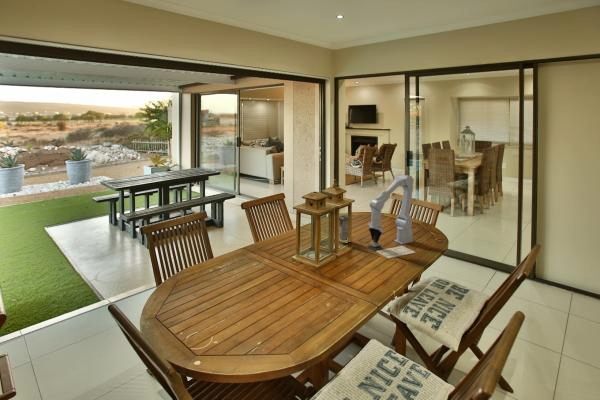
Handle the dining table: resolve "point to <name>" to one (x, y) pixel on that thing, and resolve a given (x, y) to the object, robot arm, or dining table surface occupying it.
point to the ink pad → (374, 248)
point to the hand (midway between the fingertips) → (375, 240)
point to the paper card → (395, 252)
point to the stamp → (375, 243)
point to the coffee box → (343, 227)
